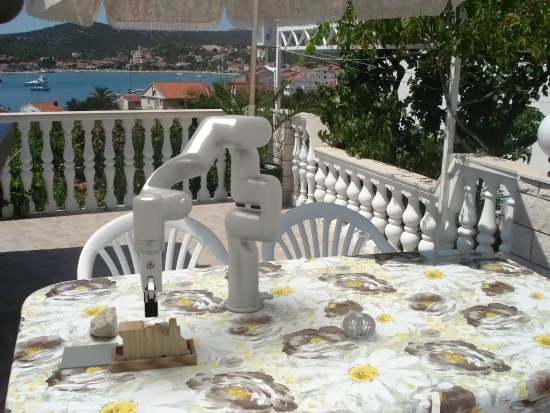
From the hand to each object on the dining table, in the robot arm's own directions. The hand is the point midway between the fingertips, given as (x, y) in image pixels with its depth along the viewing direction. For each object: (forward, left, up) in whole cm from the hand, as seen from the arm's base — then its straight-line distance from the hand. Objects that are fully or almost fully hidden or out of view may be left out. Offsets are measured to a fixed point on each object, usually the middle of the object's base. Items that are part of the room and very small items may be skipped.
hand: (150, 309), depth 157 cm
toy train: (0, 0, -14) cm, 14 cm away
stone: (+13, -20, -14) cm, 28 cm away
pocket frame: (0, 0, -14) cm, 14 cm away
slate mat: (+16, -5, -14) cm, 22 cm away
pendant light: (-57, -3, -14) cm, 59 cm away
